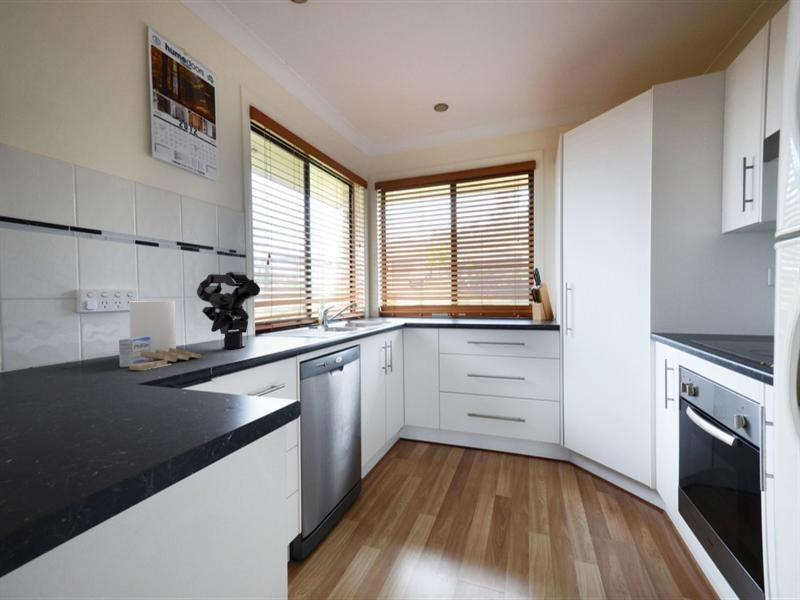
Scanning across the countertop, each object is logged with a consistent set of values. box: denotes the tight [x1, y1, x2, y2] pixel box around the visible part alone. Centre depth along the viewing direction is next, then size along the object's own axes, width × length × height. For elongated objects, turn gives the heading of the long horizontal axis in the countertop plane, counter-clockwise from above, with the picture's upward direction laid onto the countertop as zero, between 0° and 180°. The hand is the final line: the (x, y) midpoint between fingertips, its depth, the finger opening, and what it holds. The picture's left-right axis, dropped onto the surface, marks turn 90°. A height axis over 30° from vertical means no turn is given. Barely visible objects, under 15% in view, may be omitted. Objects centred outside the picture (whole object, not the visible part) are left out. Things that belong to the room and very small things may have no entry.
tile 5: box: [143, 362, 172, 371], centre depth 111 cm, size 1×4×9 cm
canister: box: [129, 300, 177, 360], centre depth 129 cm, size 14×14×20 cm
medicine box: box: [118, 336, 152, 368], centre depth 115 cm, size 8×4×9 cm, turn 179°
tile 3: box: [140, 352, 178, 363], centre depth 115 cm, size 1×4×9 cm
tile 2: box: [155, 350, 191, 361], centre depth 119 cm, size 1×4×9 cm
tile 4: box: [129, 359, 168, 371], centre depth 110 cm, size 1×4×9 cm
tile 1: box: [168, 348, 202, 359], centre depth 122 cm, size 1×4×9 cm
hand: (212, 331), depth 132 cm, fingers closed
